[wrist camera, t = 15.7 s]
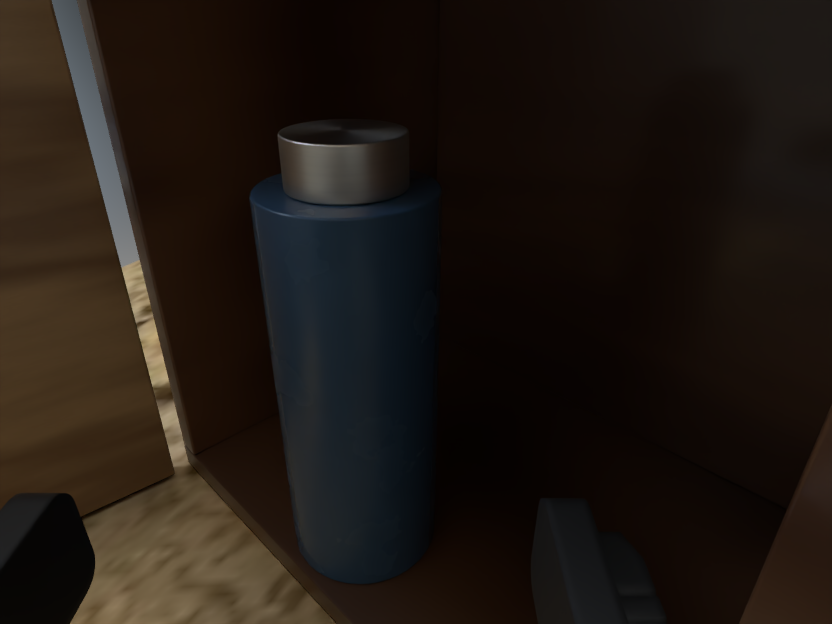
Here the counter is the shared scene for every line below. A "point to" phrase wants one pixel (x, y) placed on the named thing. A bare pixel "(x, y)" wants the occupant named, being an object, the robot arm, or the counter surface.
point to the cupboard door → (63, 293)
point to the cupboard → (523, 273)
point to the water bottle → (354, 341)
